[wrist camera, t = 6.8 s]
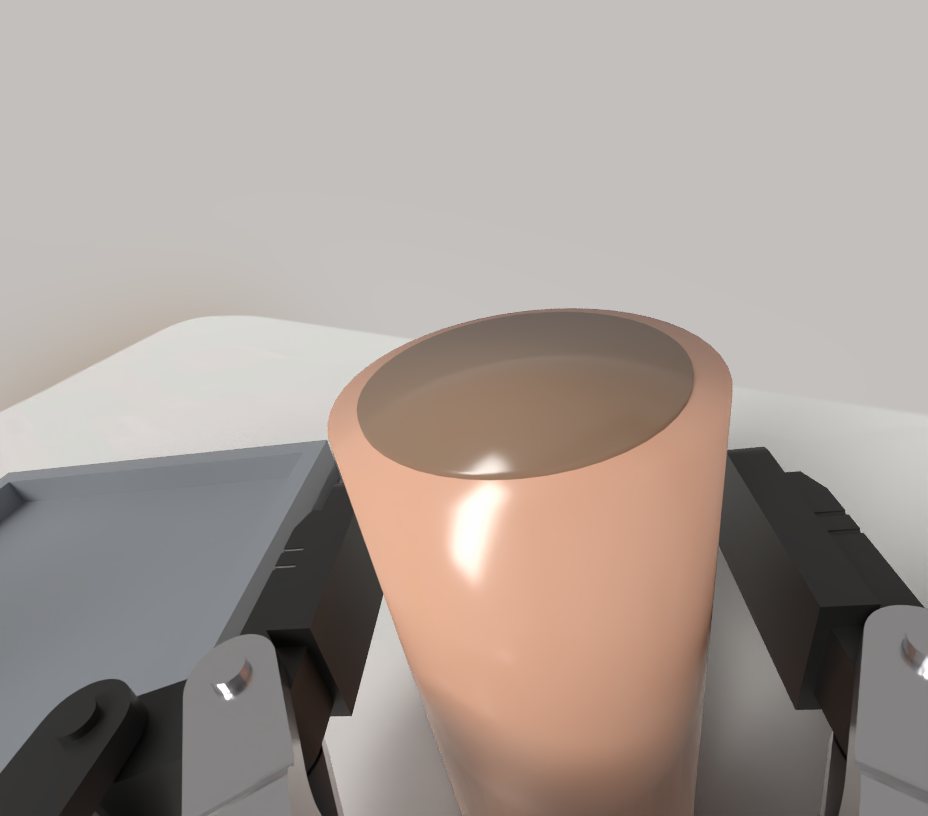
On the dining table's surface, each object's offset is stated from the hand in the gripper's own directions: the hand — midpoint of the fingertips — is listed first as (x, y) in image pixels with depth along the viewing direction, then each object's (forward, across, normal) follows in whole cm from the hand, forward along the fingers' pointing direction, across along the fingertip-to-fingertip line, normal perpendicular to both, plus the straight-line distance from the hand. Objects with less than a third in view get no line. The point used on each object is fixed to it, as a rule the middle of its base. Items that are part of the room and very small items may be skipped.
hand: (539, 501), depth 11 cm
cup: (-2, 0, +6) cm, 6 cm away
